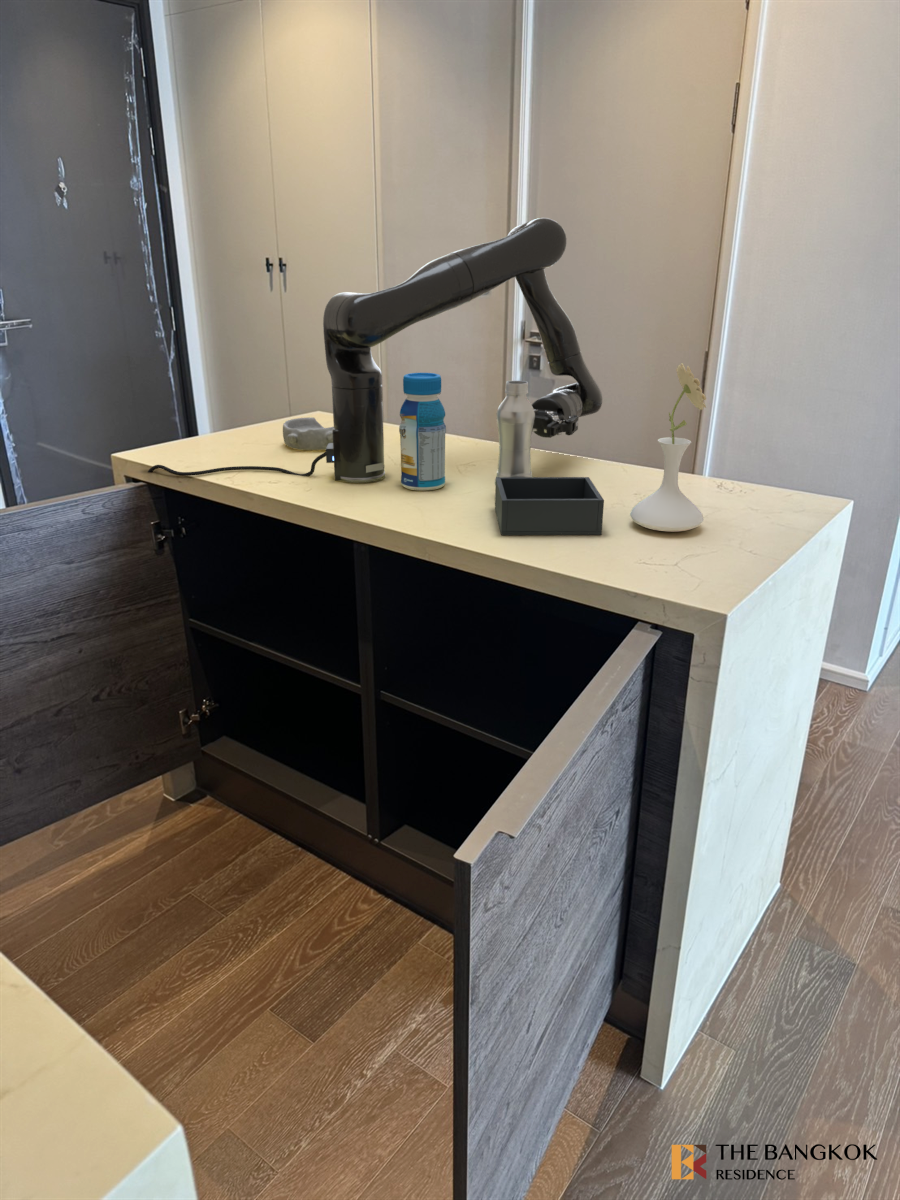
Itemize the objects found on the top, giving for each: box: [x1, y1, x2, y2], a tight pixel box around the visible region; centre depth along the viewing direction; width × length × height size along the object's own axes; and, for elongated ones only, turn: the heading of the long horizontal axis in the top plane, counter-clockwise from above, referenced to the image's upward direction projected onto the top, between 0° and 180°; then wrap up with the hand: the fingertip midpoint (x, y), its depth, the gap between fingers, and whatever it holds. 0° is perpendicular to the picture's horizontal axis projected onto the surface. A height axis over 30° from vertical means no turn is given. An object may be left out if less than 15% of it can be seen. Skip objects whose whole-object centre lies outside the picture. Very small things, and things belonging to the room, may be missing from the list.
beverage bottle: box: [398, 372, 447, 492], centre depth 155 cm, size 8×8×20 cm
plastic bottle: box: [494, 380, 535, 485], centre depth 148 cm, size 6×7×20 cm
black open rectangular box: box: [494, 476, 605, 536], centre depth 138 cm, size 16×14×6 cm
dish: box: [282, 416, 334, 451], centre depth 188 cm, size 14×14×5 cm
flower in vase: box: [629, 362, 707, 533], centre depth 133 cm, size 13×11×25 cm
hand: (525, 429), depth 153 cm, fingers open, 8 cm apart
